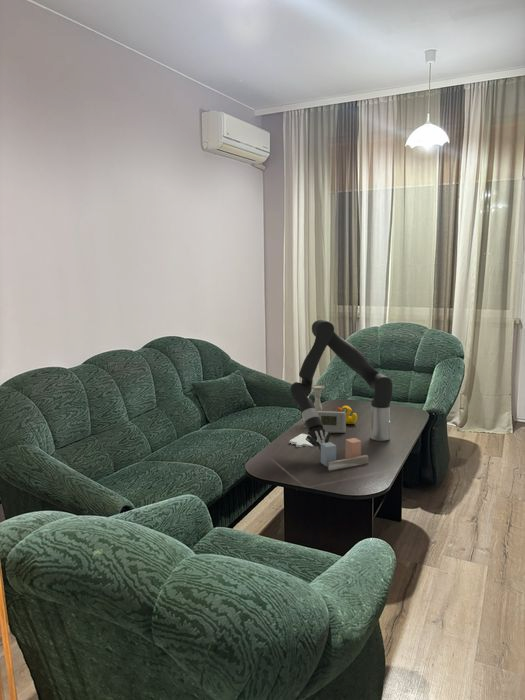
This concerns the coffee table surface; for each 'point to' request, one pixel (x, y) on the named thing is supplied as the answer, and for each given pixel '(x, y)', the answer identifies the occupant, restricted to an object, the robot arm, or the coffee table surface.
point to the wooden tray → (347, 462)
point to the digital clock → (333, 421)
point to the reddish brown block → (353, 448)
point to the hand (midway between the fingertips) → (324, 453)
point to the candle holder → (317, 396)
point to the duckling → (348, 410)
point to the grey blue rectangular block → (328, 453)
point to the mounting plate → (300, 441)
